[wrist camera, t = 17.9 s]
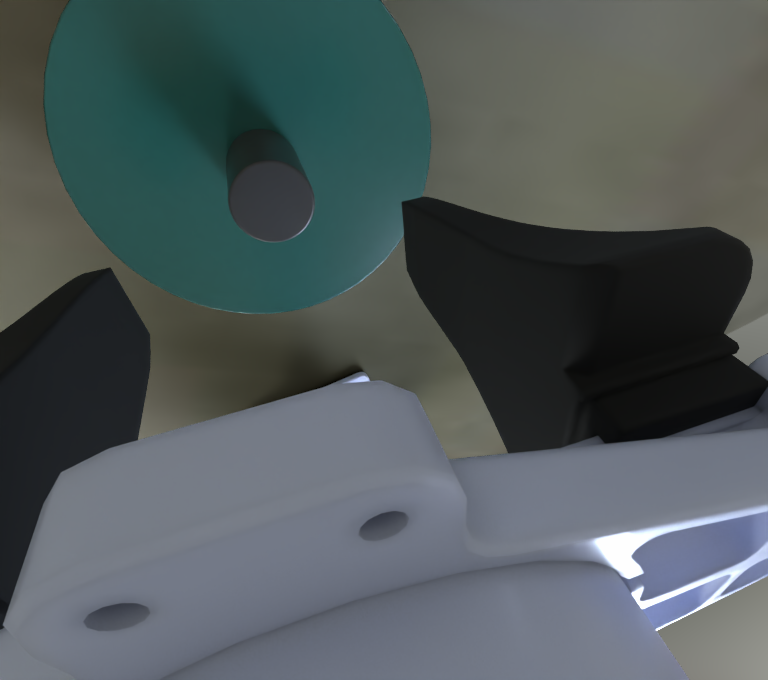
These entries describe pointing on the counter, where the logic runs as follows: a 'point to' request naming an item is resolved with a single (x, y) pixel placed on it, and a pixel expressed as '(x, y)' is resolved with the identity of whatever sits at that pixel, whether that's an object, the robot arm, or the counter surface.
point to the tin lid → (239, 142)
